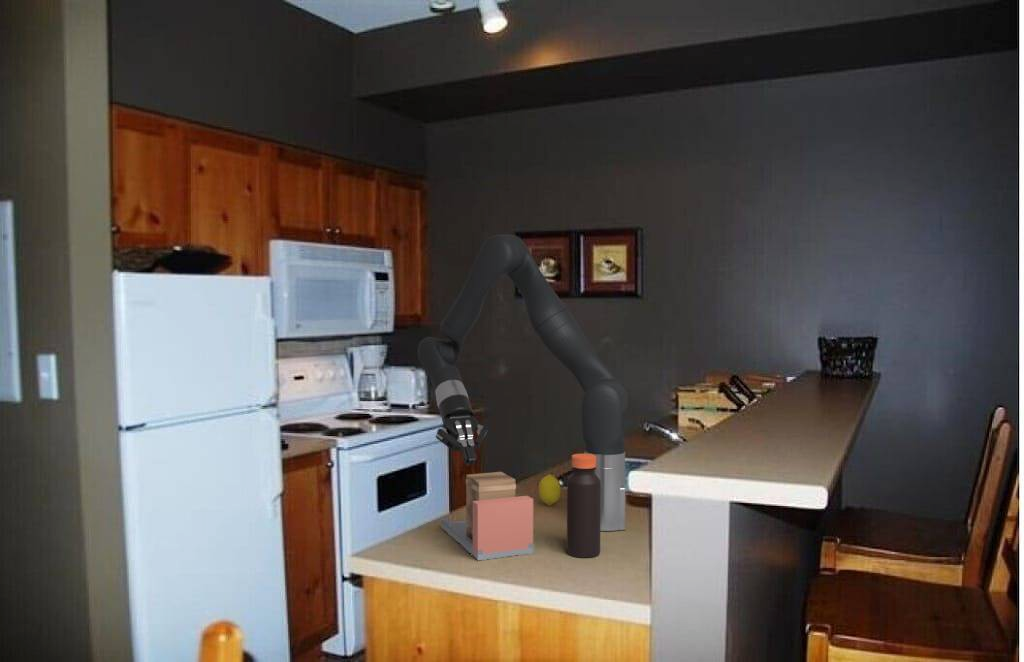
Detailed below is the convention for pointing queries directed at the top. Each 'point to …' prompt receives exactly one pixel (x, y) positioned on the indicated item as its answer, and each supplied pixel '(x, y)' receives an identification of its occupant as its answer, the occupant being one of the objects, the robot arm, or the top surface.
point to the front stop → (502, 524)
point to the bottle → (583, 508)
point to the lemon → (549, 489)
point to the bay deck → (459, 534)
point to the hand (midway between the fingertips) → (471, 463)
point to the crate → (486, 492)
